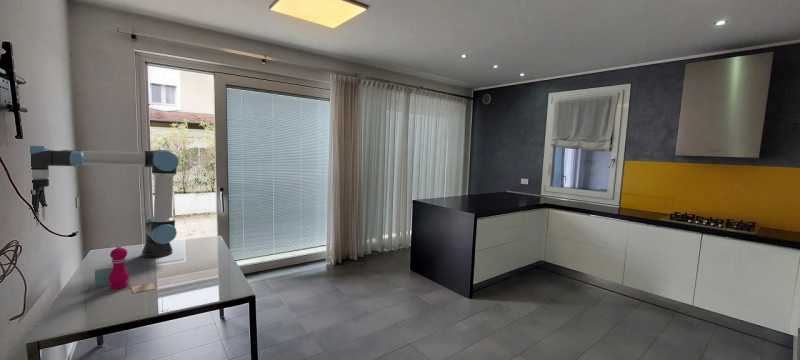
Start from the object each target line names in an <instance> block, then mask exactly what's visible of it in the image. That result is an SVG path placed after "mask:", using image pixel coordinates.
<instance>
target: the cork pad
mask: <svg viewBox="0 0 800 360" xmlns="http://www.w3.org/2000/svg"><path fill="white" fill-rule="evenodd" d="M131 288H132V289H131V292H132V294H138V293H143V292H147V291H148V292H149V291H151V290H156V287H155V285H154V282H151V283H146V284H142V285H141V284H140V285H134V286H131Z"/></svg>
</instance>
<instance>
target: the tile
mask: <svg viewBox="0 0 800 360" xmlns="http://www.w3.org/2000/svg"><path fill="white" fill-rule="evenodd" d="M112 269H113V265H112V266H107V267H101V268H95V269H94V284H95V287H99V286H105V285H110V284H112V283H110V282H109V276H110V274H111V272H112Z"/></svg>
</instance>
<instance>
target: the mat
mask: <svg viewBox="0 0 800 360" xmlns="http://www.w3.org/2000/svg"><path fill="white" fill-rule="evenodd" d="M127 282H128V286H127V287H125V288H122V289H117V290H112V289H110V285H105V286H99V287H95V283H92V284H88V292H89V293H88V296H89V298H93V297H99V296H104V295H108V294H114V293H120V292H124V291H128V290H132V288H131V287H132V286H131V283H130V280H129V279H128V280H127Z"/></svg>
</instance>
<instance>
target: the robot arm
mask: <svg viewBox="0 0 800 360" xmlns="http://www.w3.org/2000/svg"><path fill="white" fill-rule="evenodd" d="M30 154H31V167H32V168H31V169H32V178H33V180H32V183H33V190H32V189H30V190H31V194H32V205H33V208H34V211H35V213H36V215H37V217H38V219H39V210H38V209H39V202H40V203H41V205H42V207H41V208H42V217H43V220H42V221H47V219H46V218H47V217H46V207H48V204H47V201H46V195H45V194H46V193H45V188H46V187H50V179H49V177H50V169H49V167H83V166H142V168H151V174H152V175H153V176H154V198H153V199H154V201H153V203H154V204H153V205H154V206H153V217H149V218H146V219H145V222H144V225H145V243H144V246H143V249H142V252H141V257H142V258H147V259H152V258H153V259H157V258H162V257H167V256H169V255H172V254H173V247H172V244H171V242H172V241H173V240H174V239H176V237H177V232H178V231H177V229H176V218H174V217H173V196H174V194H173V193H174V176H175V175H177V168H178V167H179V163H180V161H179V160H180V159H179V157H178V155H177V154H176V153H175V152H173V151H171V150H167V149H156V150H155V149H154V150H142V151H140V152H137V151H134V152H133V151H130V152H129V151H109V150H108V151H107V150H106V151H104V150H103V151H102V150H99V151H98V150H70V149H62V150H52V149H51V150H50V149H49V147H48V146H47V145H35V144H34V145H32V146H30ZM28 209H30V208H29V207H28ZM34 219H35V217H34ZM35 220H36V219H35ZM36 226H40V221H39V222H38V221H37V220H36ZM36 226H35V227H36Z"/></svg>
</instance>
